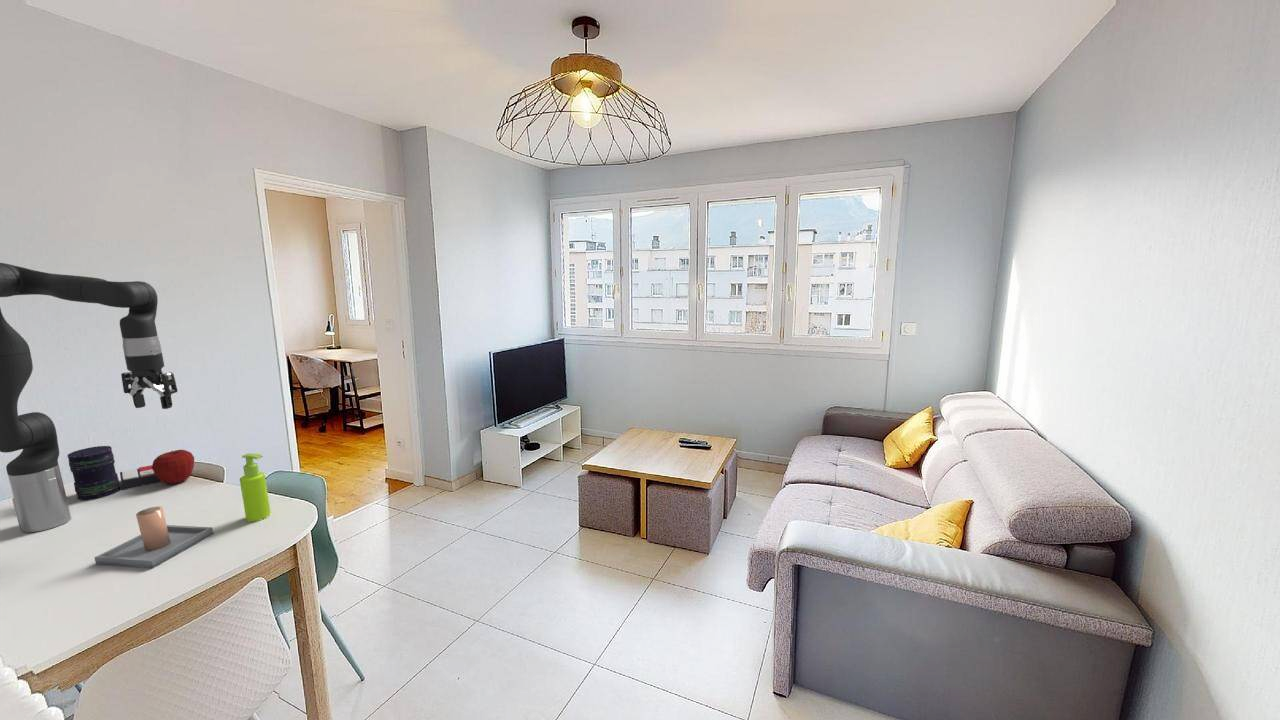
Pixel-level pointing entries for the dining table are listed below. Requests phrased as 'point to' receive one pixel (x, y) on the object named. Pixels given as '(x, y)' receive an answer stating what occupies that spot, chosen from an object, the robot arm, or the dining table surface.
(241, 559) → the dining table surface
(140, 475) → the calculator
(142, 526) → the cup
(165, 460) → the apple
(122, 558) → the tray
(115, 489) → the storage jar
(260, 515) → the soap dispenser
